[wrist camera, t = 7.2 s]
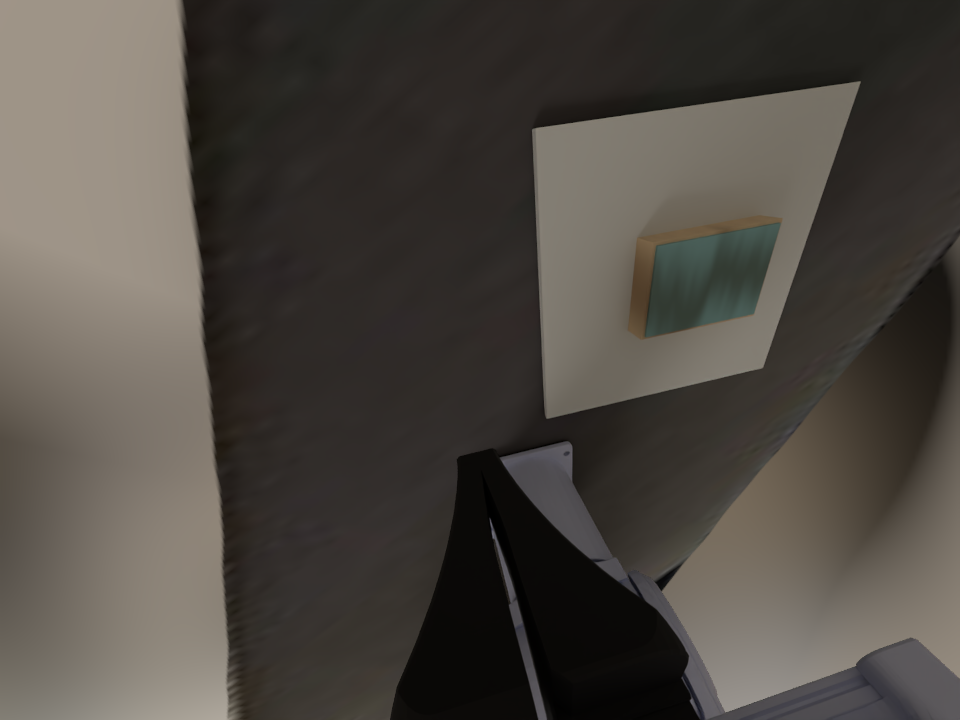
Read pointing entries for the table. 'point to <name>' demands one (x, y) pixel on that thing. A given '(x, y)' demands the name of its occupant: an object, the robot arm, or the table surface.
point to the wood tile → (700, 275)
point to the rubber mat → (664, 208)
